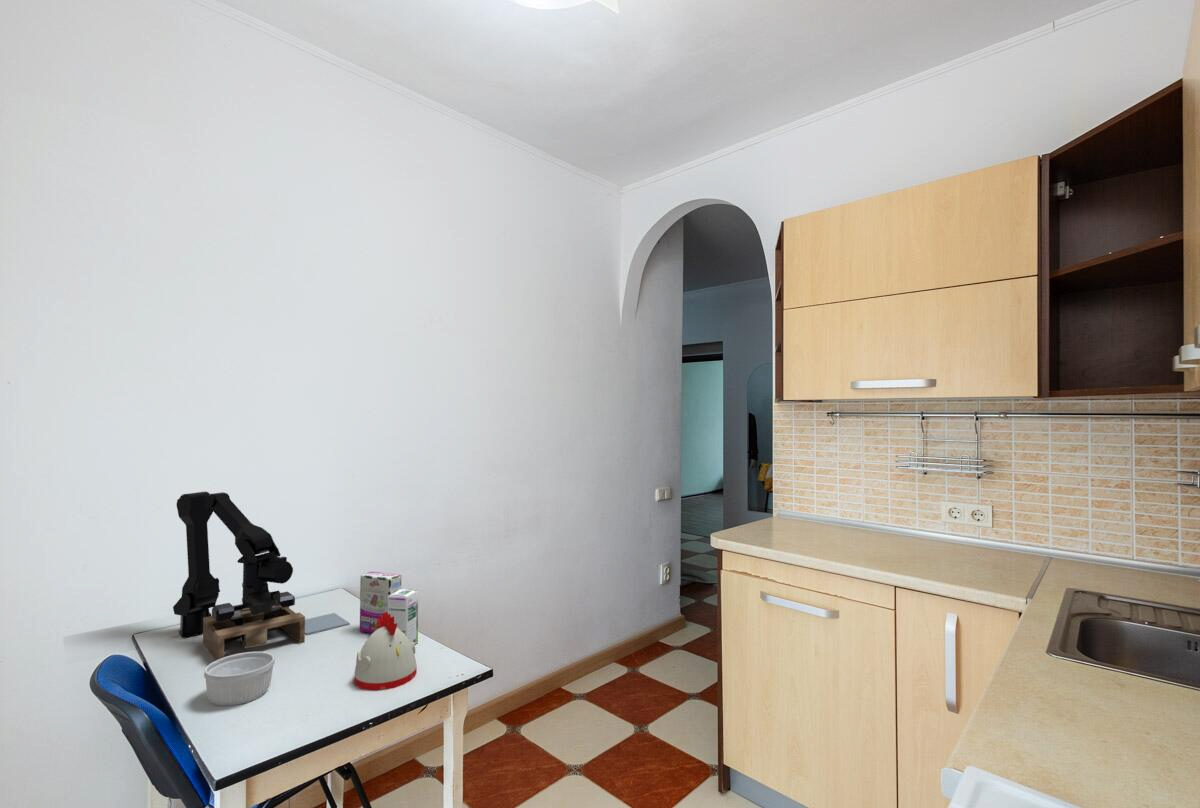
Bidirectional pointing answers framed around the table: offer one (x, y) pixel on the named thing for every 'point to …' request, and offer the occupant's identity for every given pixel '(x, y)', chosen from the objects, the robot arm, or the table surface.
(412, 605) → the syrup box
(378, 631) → the kitchen timer
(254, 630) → the wooden rack
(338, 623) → the pad
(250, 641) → the maple block
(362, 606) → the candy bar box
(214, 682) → the ramekin
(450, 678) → the table surface
